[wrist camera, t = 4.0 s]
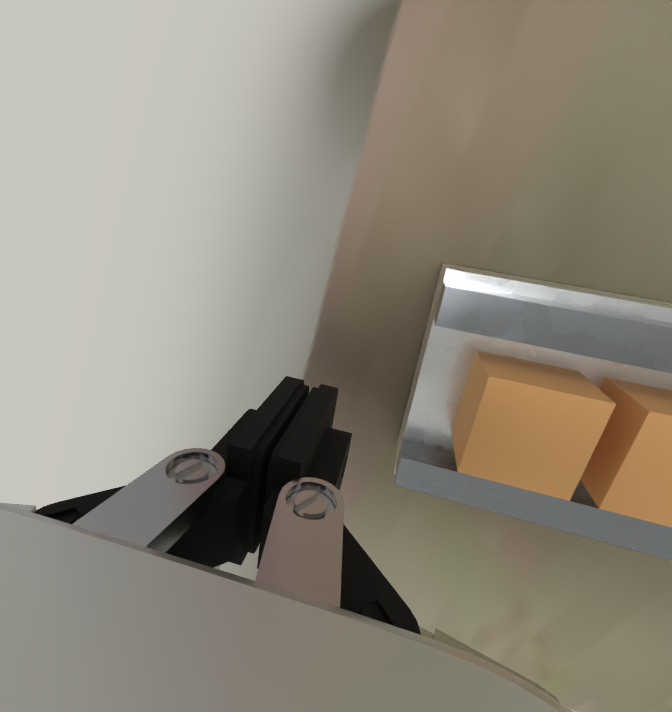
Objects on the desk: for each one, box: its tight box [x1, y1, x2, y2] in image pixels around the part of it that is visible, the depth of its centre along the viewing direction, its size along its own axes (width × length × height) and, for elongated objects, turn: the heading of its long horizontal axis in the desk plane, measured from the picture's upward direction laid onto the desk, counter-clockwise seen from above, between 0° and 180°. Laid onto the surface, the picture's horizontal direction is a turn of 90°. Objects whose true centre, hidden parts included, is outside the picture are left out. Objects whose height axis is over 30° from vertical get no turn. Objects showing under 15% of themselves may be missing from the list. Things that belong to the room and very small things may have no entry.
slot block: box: [394, 263, 672, 560], centre depth 16 cm, size 14×10×4 cm
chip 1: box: [451, 350, 616, 501], centre depth 14 cm, size 4×4×3 cm
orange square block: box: [580, 377, 672, 527], centre depth 13 cm, size 4×4×3 cm
